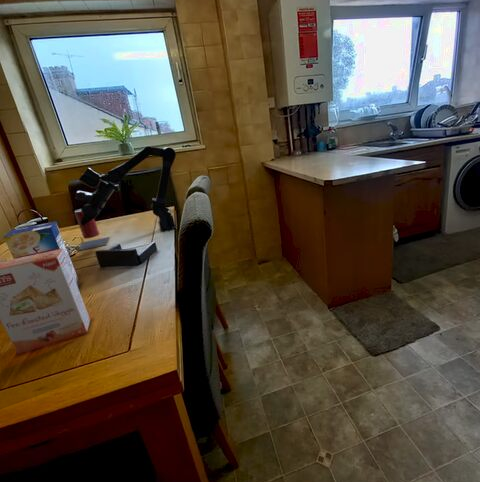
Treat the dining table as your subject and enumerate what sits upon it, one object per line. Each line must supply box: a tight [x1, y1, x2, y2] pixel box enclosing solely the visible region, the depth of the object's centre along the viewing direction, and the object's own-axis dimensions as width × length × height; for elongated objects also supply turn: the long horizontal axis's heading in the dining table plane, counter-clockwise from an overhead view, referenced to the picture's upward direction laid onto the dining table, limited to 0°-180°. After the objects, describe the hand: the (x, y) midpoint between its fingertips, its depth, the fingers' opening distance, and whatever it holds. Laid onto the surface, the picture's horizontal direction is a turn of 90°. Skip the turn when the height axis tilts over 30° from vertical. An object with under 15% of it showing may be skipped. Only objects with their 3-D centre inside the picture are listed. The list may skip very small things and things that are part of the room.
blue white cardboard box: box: [3, 220, 80, 287], centre depth 83 cm, size 7×11×22 cm, turn 116°
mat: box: [77, 236, 110, 252], centre depth 127 cm, size 11×11×1 cm
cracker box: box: [0, 249, 91, 355], centre depth 63 cm, size 14×6×21 cm, turn 114°
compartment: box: [94, 241, 158, 268], centre depth 105 cm, size 13×16×7 cm
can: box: [73, 208, 100, 239], centre depth 124 cm, size 6×6×12 cm
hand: (83, 222), depth 123 cm, fingers closed on can, 6 cm apart
